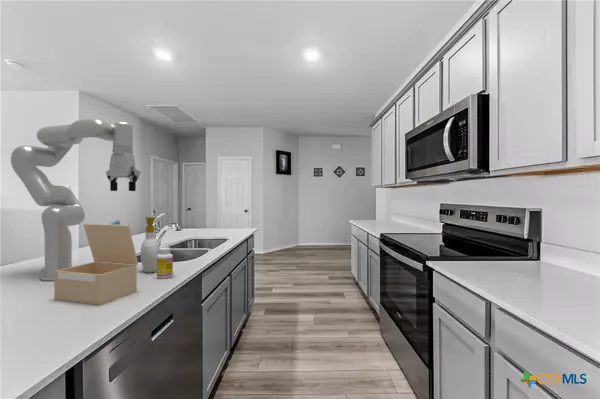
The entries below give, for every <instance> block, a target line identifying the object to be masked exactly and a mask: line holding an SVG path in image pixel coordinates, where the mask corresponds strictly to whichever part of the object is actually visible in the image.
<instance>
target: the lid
mask: <svg viewBox="0 0 600 399" xmlns="http://www.w3.org/2000/svg"><path fill="white" fill-rule="evenodd" d="M82 225H83V228H84V231H85V235H86V238H87V241H88V245H89V249H90V252H91V254H92V258H93V262H103V263H116V264H129V265H137V266H138V265H139V261H138V260H139V259H138V256H137V253H136V252H137V251H136V249H135V245H134V241H133V236H132V232H131V228H130V226H129V224H121V222H120V220H119V219H116V220H114V221H112V222H109V223H107V224H103V223H83V224H82Z"/></svg>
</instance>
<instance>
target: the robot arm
mask: <svg viewBox="0 0 600 399" xmlns="http://www.w3.org/2000/svg"><path fill="white" fill-rule="evenodd" d="M133 134H134V129H133V125H132V124H131V123H129V122H127V121H126V122H125V121H115V122H114V123H111V122H107V121H104V120H101V119H97V118H89V119H78V120H75V121H74V122H72V123H70V124H62V125H51V126H46V127H45V126H44V127H42V128H39V129H38V130H37V132H36V139H37V140H38V141H39V142H40V144H42V145H44V146H47V148H45V147H41V146H40V147H39V146H34V145H20V146H17V147H15V148H14V149H13V150H12V152H11V156H10V164H11V166H12V167H11V168H12V169H13V171H14V173H15V174H16V175H17V177H18V178H19V179H20V181H21V182H22V183H23V185H24V186H25V188H26V190H27V191H28V193H29V195H30V196H31V199H33V201H34V202H35V203H36V205H38V206H39V207H40V206H41V207H47V208H45V209H44V210H43V211H42V213H41V223H42V227H43V234H44V236H43V237H44V239H43V240H44V267H43V268H40V269H39V270H40V273H41V272H42V273H43V274H42V275H41V276H40V277H39V280H41V281H45V282H46V281H48V282H49V281H50V282H51V281H52V282H54V271H57V270H61V269H65V268H70V267H73V262H72V261H73V260H72V259H73V258H72V254H73V253H72V252H73V251H72V250H73V248H72V247H73V245H72V242H73V240H72V233H71V231H70V228H69V227H72V226H77V225H80V224H82V223H83V222H84V220H85V218H86V217H85V216H86V214H85V210H84V208H83V207H82V205H81V203H80V202H79V200H78V198H77V197H76V195H75V193H74V192H73V191H72V190H71V189H70V188H68V187H66V186H65V185H64V186H63V185H56V184H52V182H50V181H51V180H49V179H48V177H47V176H46V174H45V173H44V172H43V171H42V170H40V168H38V167H43V168H44V167H45V168H50V167H55V166H56V165H57V164H59V163H60V162H61V161H62V159H63V158H64V157H65V156H66V155H67V154H68V152H69V151H70V150H71V149H72V148H73V146H74V145H78V144H80V143H82V141H83V139H85V138H97V139H100V140H104V141H108V142H112V149H111V151H112V154H111V156H110V159H109V169H108V170H106V171H105V174H106V177H107V179H108V181H109V182H110V183H109V184H110V189H109V191H111V192H117V191H118V179H119V178H120V179H121V178H127V179H128V180H129V181H128V191H129V192H136V190H137V188H136V187H137V184H136V183H137V182H138V179H139V178H140V175H141V170H139V169H137V168H136V161H135V156H134V147H133V146H134V145H133V144H134V143H133V142H134V140H133V139H134V137H133V136H134V135H133Z"/></svg>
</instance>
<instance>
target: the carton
mask: <svg viewBox="0 0 600 399" xmlns="http://www.w3.org/2000/svg"><path fill="white" fill-rule="evenodd" d="M137 266H138V265H132V264H119V263H106V262H94V261H93V262H89V263H88V262H87V263H84V264H80V265H75V266H72V267H70V268H65V269H61V270H57V271H54V280H53V282H54V283H53V285H54V286H53V287H54V288H53V289H54V295H53V296H54V301H61V302H62V301H63V302H72V303H79V304H80V303H81V304H86V305H87V304H89V305H95V306H96V305H97V306H102V305H104V304H107V303H110V302H113V301H114V300H115V301H116V300H117V299H120V298H123V297H126V296H129V295H130V294H133V293H136V292H138V291H137V289H138V288H137V284H138V283H137V282H138V281H137V280H138V278H137V272H138V271H137V270H138V268H137Z"/></svg>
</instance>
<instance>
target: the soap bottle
mask: <svg viewBox="0 0 600 399" xmlns="http://www.w3.org/2000/svg"><path fill="white" fill-rule="evenodd" d="M145 220H146V227H145V238H144V240H143V241H142V243H141V247H140V263H141V265H142V269H143V271H144V272H145V273H149V274H151V273H155V272H157V255H158V254H160V252H159V249H160V248H161V247H160V244H159V242H158V240H157V239H156V233H155V226H154V223H155V220H159V221H161V220H162V218H155V217H154V216H145Z"/></svg>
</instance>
